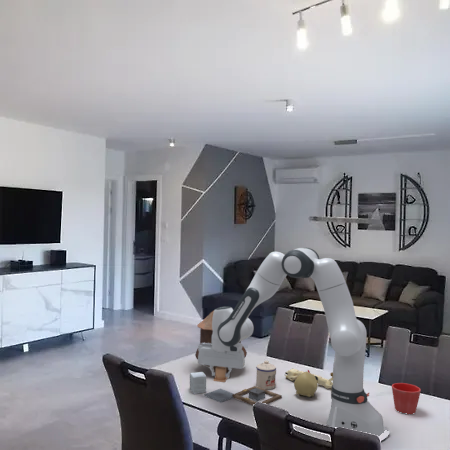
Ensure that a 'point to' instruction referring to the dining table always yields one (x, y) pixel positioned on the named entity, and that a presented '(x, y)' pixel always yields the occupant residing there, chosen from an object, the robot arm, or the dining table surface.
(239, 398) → the frame
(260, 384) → the teacup with lid
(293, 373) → the cat figure
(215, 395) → the pad
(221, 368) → the tan domed square base
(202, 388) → the product box
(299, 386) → the toy pig
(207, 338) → the pottery vessel
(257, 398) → the grey square block
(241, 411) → the dining table surface
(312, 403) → the dining table surface
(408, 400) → the flower pot
